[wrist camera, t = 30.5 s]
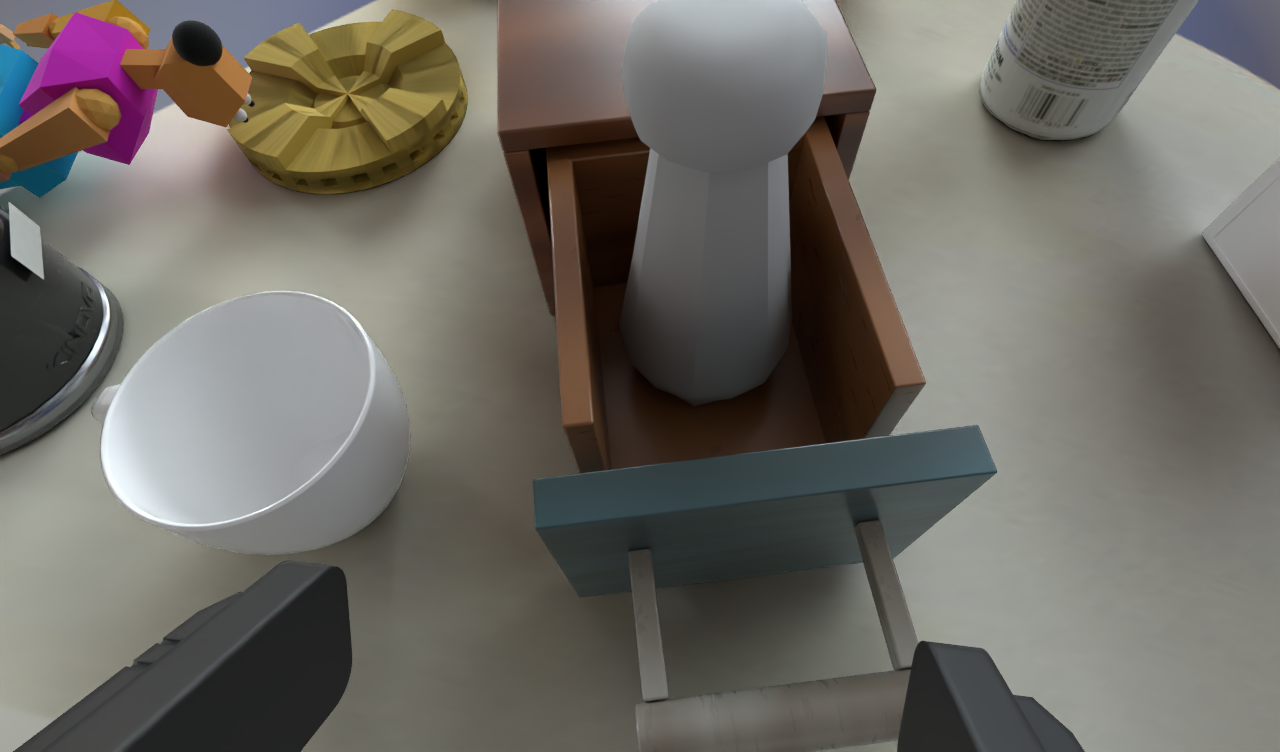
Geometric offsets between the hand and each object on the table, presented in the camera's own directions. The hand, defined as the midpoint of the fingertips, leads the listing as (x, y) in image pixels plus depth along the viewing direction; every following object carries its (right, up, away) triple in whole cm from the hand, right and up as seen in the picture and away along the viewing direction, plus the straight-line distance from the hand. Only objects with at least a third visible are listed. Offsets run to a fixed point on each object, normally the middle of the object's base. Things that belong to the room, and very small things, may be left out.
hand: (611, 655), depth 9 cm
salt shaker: (+3, +4, +15) cm, 16 cm away
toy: (-46, +13, +26) cm, 55 cm away
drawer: (+3, +1, +14) cm, 14 cm away
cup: (-12, 0, +16) cm, 20 cm away
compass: (-15, +19, +24) cm, 34 cm away
